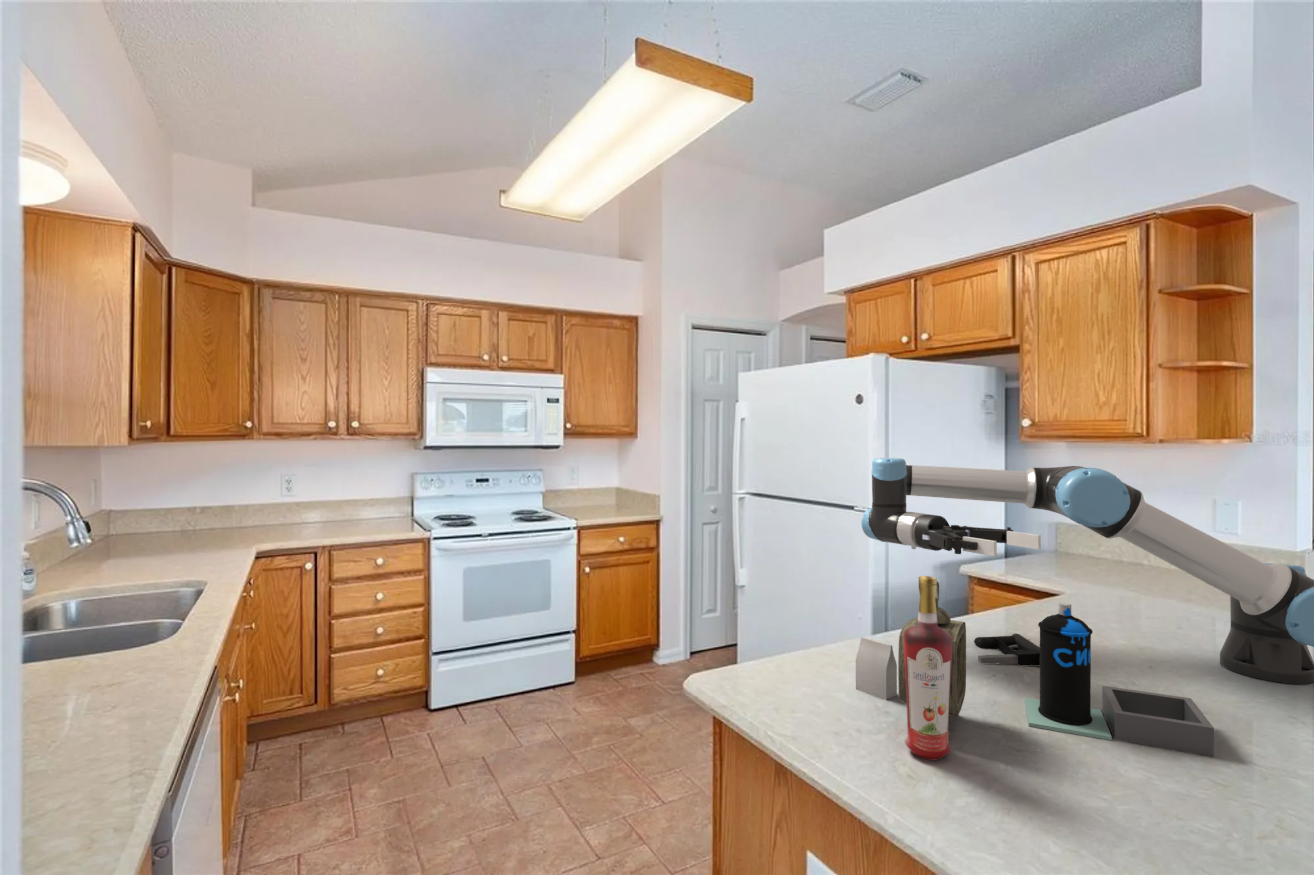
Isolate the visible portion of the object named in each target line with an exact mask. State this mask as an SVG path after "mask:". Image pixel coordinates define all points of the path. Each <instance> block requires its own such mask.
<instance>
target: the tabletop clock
mask: <svg viewBox="0 0 1314 875" xmlns="http://www.w3.org/2000/svg"><path fill="white" fill-rule="evenodd" d="M939 599H940V583H939V581H938V580H937V590H936V596H935V602H936V613H937V623H938V627H939V628H942V629H944V630H945V631H947V632H948V633H949V634H950V635H951V636H952V637H953V644H952V668H951V683H950V698H949V716H952V717H956V718H957V717H958V716H959V715H960V713H961V710H962V707H963V705H964V701H965V696H966V692H967V690H966V687H967V629H966V628H967V626H966V622H965V621H961V620H953V619H951V617H950V615H949V614H948V612H947V611H946V609H944V608H942V607H939ZM915 625H918V616H917V617H914V618H911V619H909V620H908V621H907V622H906V623H905V624H904V625H903V627H902V628H901V630H900V632H899V637H898V656H897V657H898V658H897V659H898V663H897V674H898V675H897V681H898V699H899V700H900V701H902V702H903V703H904V704H905V705H907V697H906V680H905V665H904V640H903V632H904V631H905V630H907V629H908V628H909V627H911V626H915ZM950 737H951V732H950V730H949V729H948V739H949V738H950Z"/></svg>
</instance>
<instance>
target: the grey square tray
mask: <svg viewBox="0 0 1314 875" xmlns="http://www.w3.org/2000/svg"><path fill="white" fill-rule="evenodd" d="M1101 687H1102V688H1101V689H1102V692H1101V693H1102V698H1101V699H1102V700H1101V701H1102V703H1101V704H1102V707H1101V708H1102V710H1101V711H1102V712H1103V713H1102V714H1104V715H1103V716H1104V718H1105V719H1106V720H1105V721H1107V722H1106V723H1107V724H1108V728H1110V732H1111V734H1112V737H1113V739H1114V740H1116V741H1120V742H1126V743H1131V744H1137V745H1143V746H1144V745H1145V746H1151V747H1155V748H1161V749H1168V750H1172V749H1174V750H1173V751H1178V752H1184V753H1185V752H1186V753H1191V754H1196V753H1197V754H1196V755H1200V756H1201V755H1202V756H1208V757H1213V758H1214V757H1215V727H1214V726H1213V724H1212V723H1211V722H1210V721H1209V720H1208V718H1207V717H1206V716H1205V715H1204V713H1203V712H1202V711H1201V709H1199V707H1198V705H1196V703H1195V701H1193V699H1192V698H1191V697H1185V696H1177V695H1171V694H1163V693H1158V692H1157V693H1156V692H1149V691H1141V690H1138V689H1137V690H1135V689H1130V688H1129V689H1128V688H1123V687H1113V686H1109V685H1108V686H1107V685H1102V686H1101Z"/></svg>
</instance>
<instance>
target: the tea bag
mask: <svg viewBox="0 0 1314 875" xmlns="http://www.w3.org/2000/svg"><path fill="white" fill-rule="evenodd" d="M896 661H897V660H896V657H895V654H894V650H893V645H891V644H888V643H883V642H880V641H876V640H873V639H870V638H866V637H863V636H862V637H860V643H859V647H858V650H857V653H856V657H855V690H857V691H860V692H863V693H866V694H868V695H871V696H874V697H876V698H879V699H883V700H885V701H887V700H889V699H891V698H894V697H896V696H897V695H898V693H897V691H898V675H897V674H898V663H897V662H896ZM893 696H894V697H893Z"/></svg>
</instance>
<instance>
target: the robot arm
mask: <svg viewBox="0 0 1314 875" xmlns="http://www.w3.org/2000/svg"><path fill="white" fill-rule="evenodd" d="M871 463H872V464H871V465H872V466H871V473H870V474H871V493H872V494H871V496H872V502H871V507H870V508H868V509H866V510H865V511H864V513H863V518H861V529H862V531H863V534H865V536H867V537H868V538H870V539H873V540H876V541H879V542H881V543H891V544H898V545H904V546H909V547H910V546H911V549H912V550H916V549H917V548H919V549H920V548H921V549H924V550H930V551H935V552H936V551H937V552H938V551H941V550H944V551H947V552H952V551H953V550H954V554H955V555H962V552H967V553H972V554H973V553H975V554H979V555H984V556H991V557H996V556H997V554H998V552H997V551H998V549H997V547H998V546H997V545H998V544H1006V545H1008V546H1012V547H1013V546H1014V547H1020V548H1027V549H1033V550H1041V548H1042V547H1041V546H1042V540H1041V539H1042V537H1041V536H1042V535H1041V534H1033V533H1026V532H1019V531H1014V530H1013V529H1012V528H1011V527H1010V526H1007V527H1006V529H1004V528H993V527H990V528H989V527H975V526H967V525H962V526H961V525H958V524H951V525H950V524H949V522H948V521H947V519H946V518H945V517H943V516H941V515H937V514H928V513H927V514H926V513H922V512H914V511H907V496H914V497H927V498H929V497H930V498H944V499H956V500H970V501H984V502H997V503H1013V504H1022V505H1023V504H1024V505H1025V506H1026V507H1028V508H1029V509H1034V510H1036V509H1037V510H1045V511H1049V512H1052V513H1056V514H1059V515H1061V516H1064V517H1066V518H1067V519H1070V521H1073V522H1074V523H1076V524H1079V525H1081V526H1083V527H1085V528H1087V529H1089V530H1091V531H1093V532H1094V533H1096V534H1098V535H1100V536H1101V537H1102V536H1103V537H1104V538H1105V539H1114V538H1121V539H1123V540H1125V541H1127V542H1128V543H1131V544H1133V545H1135V546H1136V547H1138V548H1140V549H1142V550H1143V551H1145V552H1148V553H1150V554H1152V555H1153V556H1155V557H1156V558H1159V559H1161V560H1162V561H1165V562H1167V563H1168V564H1170V565H1172V566H1174V567H1175V568H1178V569H1179V570H1181V571H1183V572H1185V573H1187V574H1189V575H1191V576H1192V577H1194V578H1197V579H1198V580H1200V581H1201V582H1204V583H1205V584H1208V585H1209V586H1211V587H1213V588H1214V589H1217V590H1218V591H1220V592H1223V593H1224V594H1226V595H1228V596H1229V598H1230V600H1229V601H1230V605H1229V606H1230V607H1229V608H1230V628H1229V629H1230V630H1229V631H1228V632H1229V633H1228V634H1227V636H1226V639H1225V641H1224V643H1223V645H1222V648H1221V650H1220V652H1219V664H1220V666H1222V667H1224V668H1226V669H1227V670H1230V671H1231V672H1235V673H1237V674H1240V675H1243V676H1247V677H1251V678H1255V679H1259V680H1264V681H1269V682H1276V683H1282V684H1291V685H1292V684H1294V685H1298V684H1299V685H1303V684H1304V685H1305V684H1314V659H1313V656H1312V654H1311V651H1310V649H1309V647H1311V648H1314V579H1313V578H1311V577H1309V576H1308V575H1307V573H1306V570H1305V567H1303V566H1301V565H1296V564H1283V563H1268V562H1267V563H1266V562H1262V561H1260V560H1258V559H1257V558H1254V557H1252V555H1251V556H1250V555H1248V554H1246V553H1245V552H1243V551H1240V550H1238V549H1237V548H1235V547H1233V546H1231V545H1229V544H1228V543H1225V542H1223V541H1222V540H1219V539H1217V538H1215V537H1214V536H1212V535H1211V534H1207V533H1206V532H1204V531H1202V530H1200V529H1198V528H1196V527H1194V526H1193V525H1190V524H1188V523H1186V522H1185V521H1182V520H1181V519H1178V518H1177V517H1175V516H1173V515H1171V514H1169V513H1167V512H1165V511H1163V510H1161V509H1159V508H1157V507H1155V506H1154V505H1151V504H1149V503H1147V502H1146V501H1145V498H1144V495H1143V494H1144V493H1143V492H1142V491H1141V490H1138V489H1136V488H1135V487H1133V486H1131V485H1129V484H1127V483H1125V482H1123V481H1122V480H1121V479H1120V478H1119V477H1117V476H1116V475H1114V474H1113V473H1112V472H1109V471H1107V470H1104V469H1102V468H1096V467H1085V466H1079V465H1070V466H1058V467H1035V466H1034V467H1029V468H1027V469H1026V470H1024V471H1023V470H1009V469H1008V470H1007V469H991V468H990V469H987V468H972V467H971V468H968V467H967V468H966V467H948V466H934V465H933V466H932V465H914V464H911V465H910V464H909V465H908V464H907V461H906V460H905V459H904V458H903V457H902V458H899V457H877V458H874V459H873V460H872V462H871ZM1308 646H1309V647H1308Z"/></svg>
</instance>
